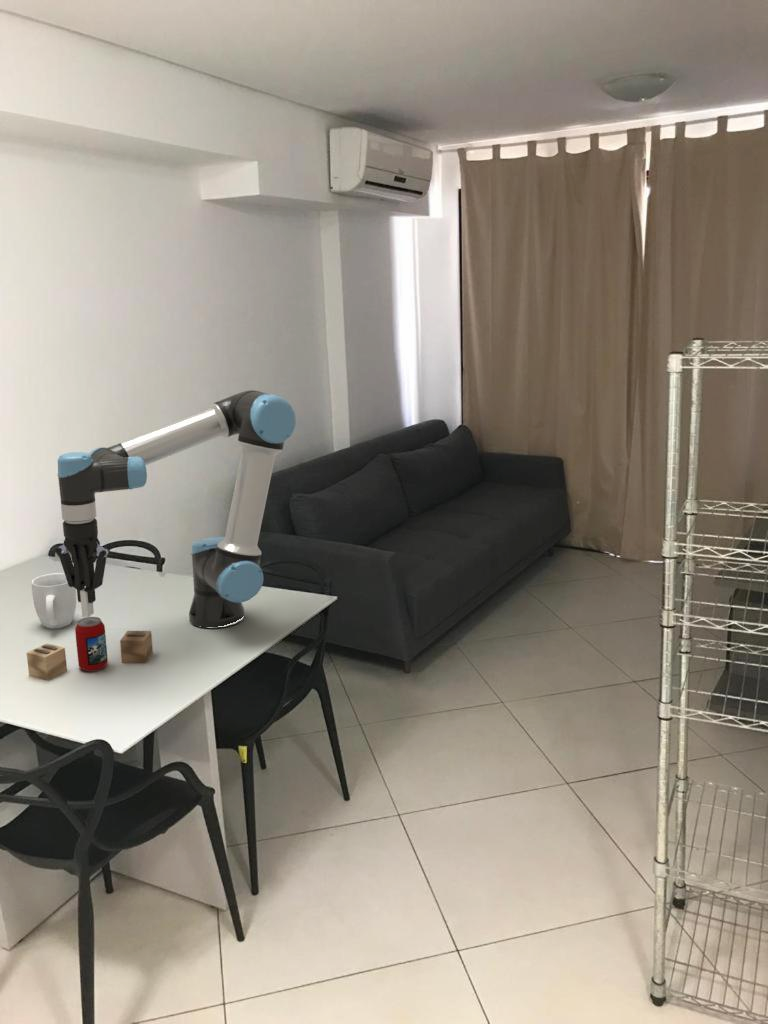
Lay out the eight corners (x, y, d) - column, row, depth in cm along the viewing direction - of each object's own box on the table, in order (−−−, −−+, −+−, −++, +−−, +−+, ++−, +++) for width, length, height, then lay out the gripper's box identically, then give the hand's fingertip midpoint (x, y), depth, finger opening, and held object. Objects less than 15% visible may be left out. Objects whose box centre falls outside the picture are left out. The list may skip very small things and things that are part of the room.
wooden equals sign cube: (67, 670, 201) (64, 646, 199) (47, 680, 196) (45, 656, 194) (48, 666, 203) (46, 642, 202) (29, 675, 198) (26, 651, 196)
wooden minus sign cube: (152, 653, 211) (151, 629, 209) (146, 663, 205) (144, 639, 203) (129, 652, 211) (127, 629, 209) (121, 663, 205) (119, 639, 203)
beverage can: (99, 674, 199) (94, 627, 196) (73, 671, 200) (68, 625, 197) (113, 662, 205) (109, 616, 202) (88, 660, 206) (84, 614, 203)
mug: (74, 635, 221) (70, 589, 218) (30, 639, 218) (25, 592, 215) (81, 615, 235) (76, 571, 232) (39, 618, 233) (34, 574, 229)
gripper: (113, 517, 196) (121, 611, 201) (62, 514, 198) (71, 607, 204) (97, 525, 188) (105, 622, 194) (44, 522, 191) (54, 618, 197)
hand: (88, 614), depth 199 cm, fingers closed
